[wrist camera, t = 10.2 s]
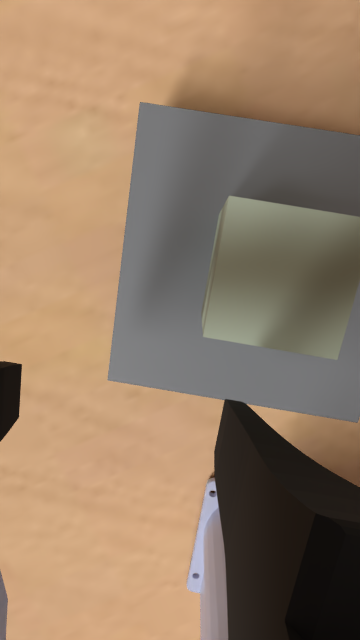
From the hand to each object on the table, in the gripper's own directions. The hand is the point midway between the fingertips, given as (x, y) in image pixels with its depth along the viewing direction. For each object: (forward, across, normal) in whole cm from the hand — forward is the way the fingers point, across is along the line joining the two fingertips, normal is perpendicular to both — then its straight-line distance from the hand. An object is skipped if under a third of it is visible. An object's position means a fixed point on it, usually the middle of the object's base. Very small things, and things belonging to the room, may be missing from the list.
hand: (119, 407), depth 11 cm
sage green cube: (+6, -5, -5) cm, 10 cm away
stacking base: (+9, -5, -5) cm, 12 cm away
